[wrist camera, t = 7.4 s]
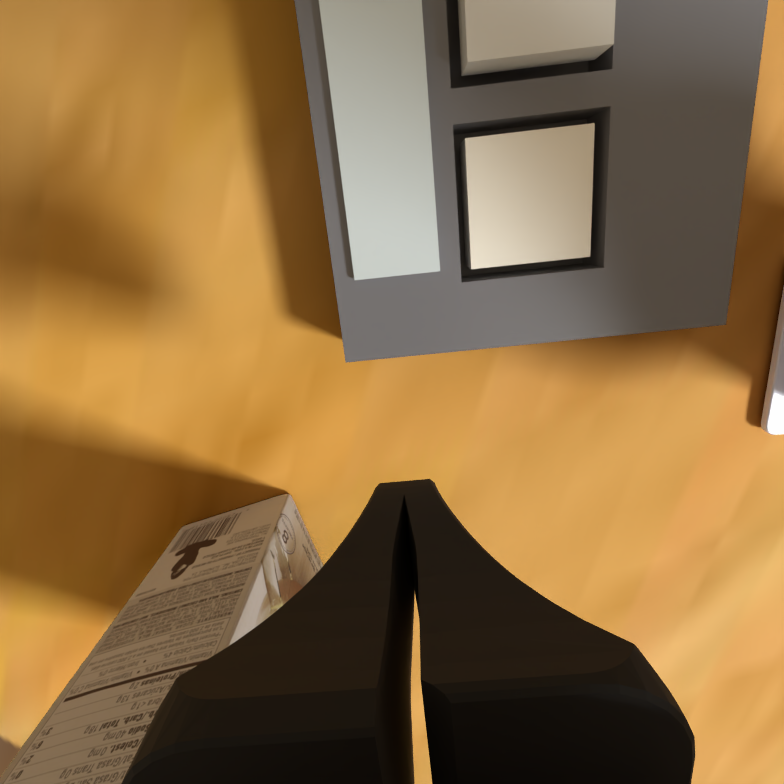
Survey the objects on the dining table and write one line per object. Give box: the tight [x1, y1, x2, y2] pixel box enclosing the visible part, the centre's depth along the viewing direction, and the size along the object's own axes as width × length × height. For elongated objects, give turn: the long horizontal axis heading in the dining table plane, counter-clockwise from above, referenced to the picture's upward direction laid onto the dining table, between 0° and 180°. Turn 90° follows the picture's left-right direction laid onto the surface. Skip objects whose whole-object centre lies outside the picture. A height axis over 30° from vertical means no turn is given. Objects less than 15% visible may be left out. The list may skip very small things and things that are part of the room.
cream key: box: [460, 123, 595, 269], centre depth 17 cm, size 4×4×1 cm
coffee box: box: [0, 494, 323, 784], centre depth 17 cm, size 9×6×16 cm
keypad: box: [294, 0, 768, 362], centre depth 15 cm, size 14×22×3 cm, turn 6°
